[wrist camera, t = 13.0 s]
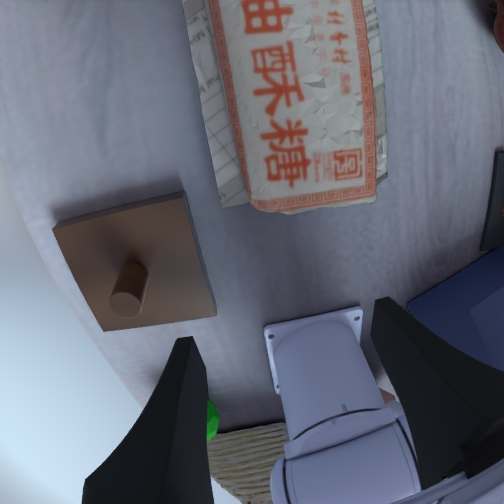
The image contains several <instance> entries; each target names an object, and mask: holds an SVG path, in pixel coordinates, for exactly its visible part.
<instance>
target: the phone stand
mask: <svg viewBox="0 0 504 504" xmlns="http://www.w3.org/2000/svg"><path fill="white" fill-rule="evenodd" d="M408 307H409V311H410V314H411V315H412V316H413V317H414V318H415V319H417V320H418V321H419V322H420V323H422V324H423V325H424V326H426V327H427V328H428V329H429V330H431V331H432V332H433V333H435V334H436V335H437V336H439V337H440V338H442V339H443V340H445V341H446V342H447V343H449V344H450V345H452V346H454V347H455V348H457V349H459V350H460V351H462V352H464V353H465V354H467V355H469V356H471V357H473V358H475V359H477V360H479V361H481V362H483V363H485V364H487V365H489V366H491V367H494V368H496V369H499V370H501V371H504V245H502V246H501V247H497V248H495V249H494V250H492V251H491V252H489V253H488V254H486V255H485V256H483V257H482V258H480V259H479V260H477V261H476V262H474V263H473V264H471V265H470V266H468V267H467V268H465V269H463V270H462V271H460V272H459V273H457V274H455V275H454V276H452V277H451V278H449V279H447V280H446V281H444V282H442V283H441V284H439V285H437V286H436V287H434V288H432V289H431V290H429V291H427V292H425V293H424V294H422V295H420V296H419V297H417V298H415V299H413V300H411V301H410V302H408Z"/></svg>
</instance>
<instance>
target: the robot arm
mask: <svg viewBox="0 0 504 504" xmlns="http://www.w3.org/2000/svg"><path fill="white" fill-rule="evenodd" d="M356 316H357V317H356ZM362 318H363V310H362V308H361V307H359V306H357V307H352V308H348V309H344V310H339V311H335V312H330V313H326V314H321V315H317V316H312V317H307V318H302V319H297V320H292V321H287V322H282V323H277V324H272V325H268V326H266V327H265V328H264V336H265V341H266V347H267V352H268V357H269V362H270V368H271V373H272V378H273V384H274V389H275V393H276V394H281V399H282V404H283V409H284V414H285V419H286V424H287V429H288V434H289V440H290V442H288V443H285V444H284V451H285V456H286V457H282V458H279V459H278V460H277V461H276V463H275V466H274V468H273V469H272V472H271V476H270V488H271V496H272V501H273V504H504V371H501V370H499V369H496V368H494V367H491V366H489V365H487V364H485V363H483V362H481V361H479V360H477V359H475V358H473V357H471V356H469V355H467V354H465V353H464V352H462V351H460V350H459V349H457V348H455V347H454V346H452V345H450V344H449V343H447V342H446V341H445V340H443V339H442V338H440V337H439V336H437V335H436V334H435V333H433V332H432V331H431V330H429V329H428V328H427V327H426V326H424V325H423V324H422V323H420V322H419V321H418V320H417V319H415V318H414V317H413V316H412V315H411V314H409V313H408V312H407V311H406V310H405V309H403V308H402V307H401V306H400V305H399V304H397V303H396V302H395V301H394V300H392V299H391V298H390V297H385V298H381V299H377V300H375V305H374V313H373V320H372V327H371V334H370V335H371V338H372V341H373V344H374V347H375V349H376V352H377V355H378V357H379V359H380V361H381V363H382V365H383V367H384V369H385V371H386V373H387V375H388V377H389V379H390V381H391V383H392V385H393V387H394V389H395V392H396V394H397V396H398V398H399V400H400V402H401V405H402V408H403V410H404V413H405V415H401V416H398V417H397V418H395V416H394V414H393V411H392V409H391V407H390V406H388V407H386V405H385V403H384V400H383V398H382V396H381V393H380V391H379V389H378V386H377V384H376V381H375V379H374V377H373V374H372V372H371V370H370V368H369V365H368V363H367V361H366V358H365V356H364V354H363V352H362V349H361V347H360V337H361V328H362ZM269 335H271V336H269ZM207 412H208V385H207V374H206V367H205V365H204V362H203V360H202V358H201V355H200V353H199V350H198V348H197V346H196V343H195V341H194V338H193V336H190V337H183V338H177V340H176V341H175V344H174V346H173V349H172V351H171V354H170V356H169V359H168V361H167V364H166V366H165V368H164V370H163V373H162V375H161V377H160V379H159V381H158V383H157V385H156V387H155V389H154V391H153V393H152V395H151V397H150V399H149V401H148V403H147V404H146V406H145V408H144V410H143V411H142V413H141V414H140V416H139V418H138V419H137V421H136V423H135V424H134V425H133V427H132V428H131V430H130V431H129V432H128V434H127V435H126V436H125V438H124V439H123V440H122V442H121V443H120V444H119V445H118V446H117V448H116V449H115V450H114V451H113V452H112V453H111V455H110V456H109V457H108V458H107V459H106V460H105V461H104V462H103V463H102V464H101V465H100V466H99V467H98V468H97V469H96V470H95V471H94V472H93V473H92V474H91V475H90V476H88V477H87V478H86V479H85V483H84V487H83V495H82V504H214V498H213V492H212V486H211V478H210V470H209V461H208V452H207Z"/></svg>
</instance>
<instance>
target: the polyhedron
mask: <svg viewBox="0 0 504 504" xmlns="http://www.w3.org/2000/svg"><path fill="white" fill-rule="evenodd" d="M219 420H220V414H219V412H218V410H217V408H216V406H215V405H214V404H213V403H212V402H211V401H210V400H208V412H207V441H209V440H210V439H211V438H212V437H214V436H215V435H216V432H217V429H218V424H219Z"/></svg>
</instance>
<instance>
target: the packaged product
mask: <svg viewBox="0 0 504 504" xmlns="http://www.w3.org/2000/svg"><path fill="white" fill-rule="evenodd" d="M182 4H183V9H184V14H185V20H186V25H187V30H188V35H189V43H190V49H191V55H192V60H193V65H194V69H195V72H196V77H197V81H198V90H199V94H200V100H201V105H202V115H203V120H204V125H205V129H206V134H207V139H208V143H209V148H210V153H211V158H212V163H213V168H214V172H215V176H216V181H217V187H218V193H219V198H220V203H221V207H222V208H225V207H230V206H236V205H243V204H249V203H251V204H252V206H253V207H254V208H256V209H257V210H260V211H263V212H268V213H272V212H282V213H284V214H285V215H286V214H290V215H295V214H298V213H302V212H305V211H307V210H310V211H313V210H314V209H316V208H319V207H331V208H334V207H348V206H349V205H351V204H372V203H375V202H376V200H377V187H376V186H377V185H378V184H379V183H381V182H382V181H383V180H384V179H386V178H387V177H388V174H387V167H386V160H387V151H386V141H387V131H386V107H385V95H384V90H385V86H384V77H383V66H382V49H381V44H380V39H379V27H378V20H377V15H376V8H375V3H374V0H182Z"/></svg>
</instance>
